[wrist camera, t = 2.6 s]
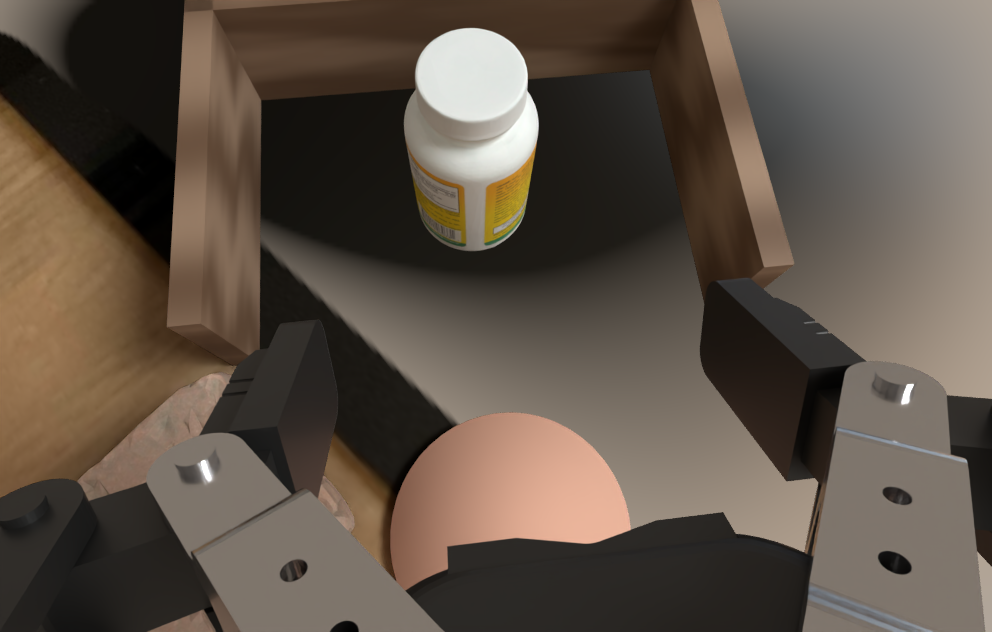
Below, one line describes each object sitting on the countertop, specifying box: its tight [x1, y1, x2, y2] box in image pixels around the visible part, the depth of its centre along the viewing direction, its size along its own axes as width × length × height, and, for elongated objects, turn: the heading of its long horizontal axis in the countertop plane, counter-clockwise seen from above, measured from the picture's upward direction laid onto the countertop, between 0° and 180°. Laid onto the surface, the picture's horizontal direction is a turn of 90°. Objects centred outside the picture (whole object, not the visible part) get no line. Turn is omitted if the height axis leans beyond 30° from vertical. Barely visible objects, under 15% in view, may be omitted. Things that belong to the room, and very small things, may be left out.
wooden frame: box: [167, 0, 794, 365], centre depth 27 cm, size 16×23×6 cm, turn 97°
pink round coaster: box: [390, 412, 631, 590], centre depth 25 cm, size 10×10×1 cm
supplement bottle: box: [404, 28, 539, 251], centre depth 25 cm, size 5×5×10 cm
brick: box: [77, 372, 355, 632], centre depth 22 cm, size 17×8×5 cm, turn 133°
